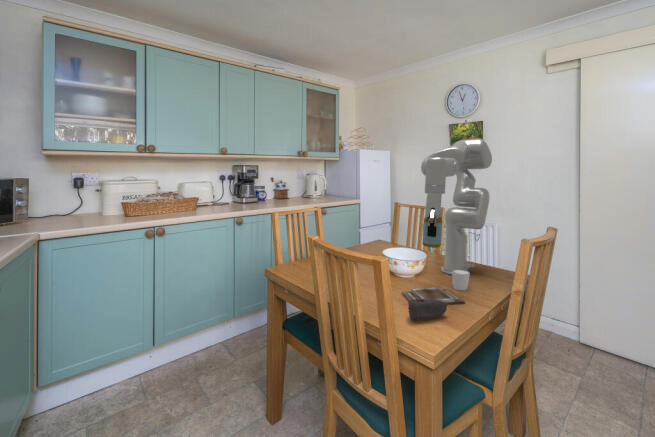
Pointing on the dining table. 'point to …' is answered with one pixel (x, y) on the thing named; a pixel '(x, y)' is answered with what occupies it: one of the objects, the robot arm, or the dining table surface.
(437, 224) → the bottle
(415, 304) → the perforated stone tool
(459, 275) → the white cylinder
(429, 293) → the dark rectangular tray
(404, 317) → the dining table surface
